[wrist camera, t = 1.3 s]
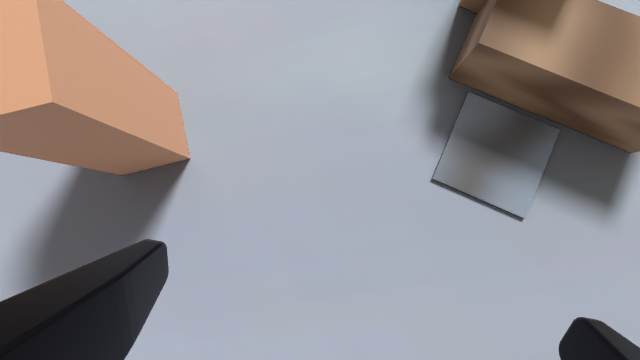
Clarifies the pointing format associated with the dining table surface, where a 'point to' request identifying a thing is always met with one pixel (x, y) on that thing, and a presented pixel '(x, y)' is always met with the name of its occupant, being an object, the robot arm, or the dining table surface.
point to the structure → (539, 92)
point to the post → (81, 95)
